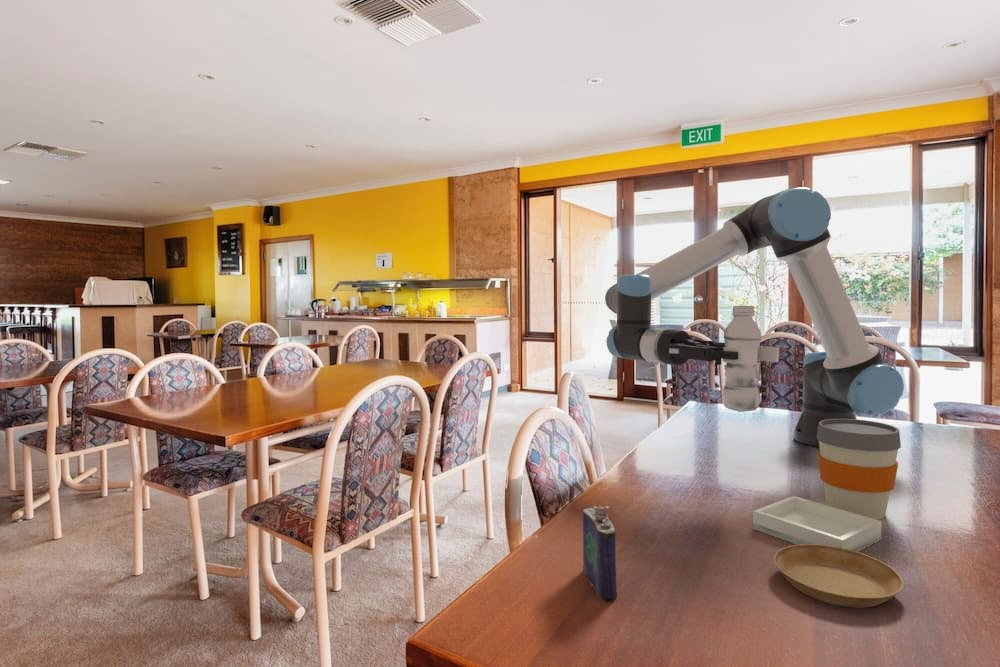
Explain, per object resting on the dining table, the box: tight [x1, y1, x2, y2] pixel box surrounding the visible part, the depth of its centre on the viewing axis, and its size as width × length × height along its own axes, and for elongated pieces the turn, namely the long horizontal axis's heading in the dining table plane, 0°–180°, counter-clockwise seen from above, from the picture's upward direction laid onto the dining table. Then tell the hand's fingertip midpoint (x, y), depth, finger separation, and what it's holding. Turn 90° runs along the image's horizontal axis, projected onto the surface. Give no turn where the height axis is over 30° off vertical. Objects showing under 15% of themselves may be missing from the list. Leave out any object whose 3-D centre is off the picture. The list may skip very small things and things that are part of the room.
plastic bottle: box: [721, 305, 762, 413], centre depth 112 cm, size 6×7×20 cm
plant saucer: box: [773, 544, 904, 609], centre depth 78 cm, size 15×15×3 cm
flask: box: [582, 505, 618, 603], centre depth 78 cm, size 9×3×11 cm, turn 8°
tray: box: [752, 495, 883, 553], centre depth 94 cm, size 12×14×3 cm
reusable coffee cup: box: [817, 419, 902, 520], centre depth 103 cm, size 13×13×15 cm
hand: (766, 356), depth 107 cm, fingers closed on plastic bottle, 6 cm apart
